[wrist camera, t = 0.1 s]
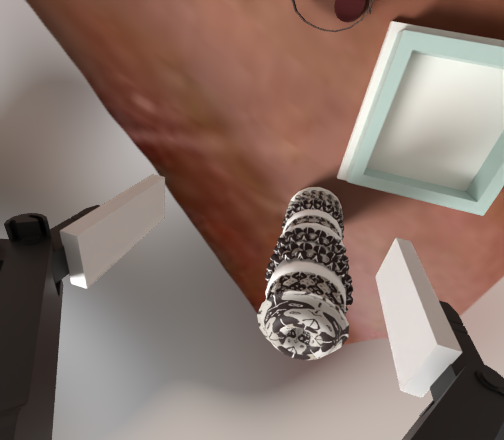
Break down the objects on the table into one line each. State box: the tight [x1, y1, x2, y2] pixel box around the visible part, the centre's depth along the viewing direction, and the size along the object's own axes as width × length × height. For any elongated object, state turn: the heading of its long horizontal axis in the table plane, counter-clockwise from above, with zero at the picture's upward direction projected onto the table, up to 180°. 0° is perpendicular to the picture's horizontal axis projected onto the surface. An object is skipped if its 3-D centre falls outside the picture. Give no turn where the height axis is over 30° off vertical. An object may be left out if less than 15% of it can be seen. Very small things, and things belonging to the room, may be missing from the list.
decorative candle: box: [257, 187, 353, 360], centre depth 35 cm, size 9×9×25 cm
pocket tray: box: [337, 21, 504, 216], centre depth 34 cm, size 19×19×4 cm
